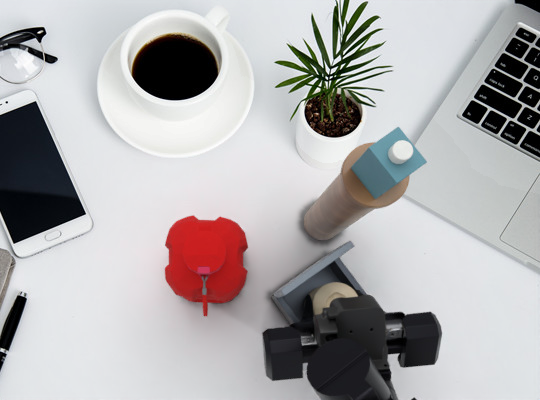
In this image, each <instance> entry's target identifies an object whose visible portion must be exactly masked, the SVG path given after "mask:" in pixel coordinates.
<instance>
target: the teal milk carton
mask: <svg viewBox="0 0 540 400" xmlns="http://www.w3.org/2000/svg"><path fill="white" fill-rule="evenodd" d="M427 163H428V161H427V160H426V159H425V157H424V156H423V155H422V154H421V152H420V151H419V150H418V149H417V147H416V146H415V145H414V143H413V142H412V141H411V140H410V139H409V137H408V136H407V135H406V134H405V132H404V131H403V130H402V128H401V127H400V126H397V127H396V128H394V129H393V130H390V132H388V133H387V134H385V135H384V136H383V137H381V138H380V139H378V140H377V141H376V143H374V144H373V145H371V146H370V147H369V148H368V149H367V150H366V151H365V152H364V153H363V154H362V156H361V157H360V158H359V159H358V160H357V161H356V162H355V163H354V164H353V166H352V167H351V169H352V170H353V172H354V173H355V174H356V176H357V177H358V178H359V179H360V181H361V182H362V183H363V185H364V186H365V187H366V188H367V190H368V191H369V192H370V194H371V195H372V196H373V197H374V199H377V198H378V197H379V196H381V195H382V194H384V193H385V192H387V191H388V190H389V189H391V188H392V187H394V186H395V185H396V184H398V183H399V182H401V181H402V180H403V179H405V178H406V177H407V176H409V177H410V175H412V174H413V173H415V172H416V171H418V170H419V169H420V168H421V167H422V166H424V165H426V164H427Z"/></svg>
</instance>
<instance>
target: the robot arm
mask: <svg viewBox="0 0 540 400" xmlns="http://www.w3.org/2000/svg"><path fill="white" fill-rule="evenodd" d="M355 292H356V294H357V295H358V296H357V297H347V298H343V297H340V298H335V299H334V300H332V301H331V303H330V306H329V307H326V308H322V313H321V314H316V315H314V313H313V303H312V299H311V296H310V295H307V296H306V301H305V306H304V312H303V316H302V318H301V321H300V322H295V323H291V324H290V323H289V325H288V326H281V327H280V326H279V327H271V328H266V329H265V330H263V332H262V333H261V335H262V349H263V350H262V351H263V365H264V371H265V376H266V377H267V378H268V379H269V380H271V381H272V382H278V381H288V380H297V379H304V371H306V377H307V382H308V383H309V384H310V386H311V388H312V389H313V391H314V392H315V393H316V395H317V397H319V399H320V400H399V396H398V394H397V392H396V389H395V387H394V384H393V381H392V370H391V368H390V367H391V365H390V363H389V355H397V357H396V358H397V363H398V365H399V367H400V368H402V369H403V368H405V369H406V368H413V367H414V368H415V367H425V366H426V367H427V366H435V365H436V363H437V361H438V360H439V355H440V349H441V344H442V343H441V342H442V338H443V331H442V325H441V323H440V320H438V318H437V315H436V314H435V313H433V311H423V312H415V313H413V312H412V313H404V312H403V311H392V312H387V311H385V310H384V309H383V307H382V306H381V305H380V304H379V302H378V301H377V299H376V298H375V297H374V296H373V295H371V294H367V295H364V294H363V293H362V292H361V291H360V290H355ZM410 400H418V399H417V398H416V397H412V398H411V399H410Z"/></svg>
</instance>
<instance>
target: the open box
mask: <svg viewBox="0 0 540 400" xmlns="http://www.w3.org/2000/svg"><path fill="white" fill-rule="evenodd" d="M333 282H339V283H343V284H346V285H348V286H349V287H351V288H352V289H353V290H354V291H355V290H360V291H361V292H362V293H363V294H364V295H368V293H366V291H365V290H364V288H363V287H362V286H361V284H360V283H359V282H358V280H357V279H356V278H355V276H354V275H353V274H352V272H351V271H350V269H348V267H347V265H345V264H344V262H343V260H342V259H341V257H339V258H338V259H336V260H335V261H333V262H332V263H331V264H329V265H328V266H326V267H325V268H324V269H322V270H321V271H319V272H318V273H317V274H315V275H314V276H312V277H311V278H310V279H308V280H307V281H305V282H304V283H303V284H301V285H300V286H298V287H297V288H296V289H294V290H293V291H291V292H290V293H289V294H287V295H286V296H283V297H279V298H276V297H275V295H274V294H272V295H271V297H270V298H271V300H272V301H273V302H274V304H275V306H277V308H278V309H279V311H280V312H281V314H282V315H283V316H284V317H285V319H286V321H287V322H288V323H289V325H290V324H291V323H295V322H300V321H301V318H302V316H303V312H304V303H305V299H306V296H307V295H308V294H309V293H310V292H311V291H312V290H313V289H315V288H317V287H319V286H322V285H325V284H328V283H333Z"/></svg>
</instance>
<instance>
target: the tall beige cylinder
mask: <svg viewBox="0 0 540 400" xmlns="http://www.w3.org/2000/svg"><path fill="white" fill-rule="evenodd" d="M376 142H377V141H376ZM376 142H375V141H374V142H367V143H363V144H360V145H358V146H357V147H355V148H354V149H352V150H351V151H350V152H349V153H348V155H347V156H346V157H345V159H344V160H343V162H342V164H341V168H340V172H339V174H338V175H337V176H336V177H335V178H334V180H332V182H331V183H329V185H328V186H327V188H326V189H325V190H324V191H323V192H322V194H321V195H320V196H319V197H318V198H317V199H316V200H315V201H314V203H313V204H312V205H311V207H310V208H308V210H307V211H306V213H305V215H304V217H303V227H304V229H305V231H306V233H307V234H308V236H310V237H312V238H313V239H315V240H317V241H328V240H331V239H332V238H334V237H335V236H337V235H339V234H340V233H341V232H343V231H344V230H346V229H348V228H349V227H350V226H352V225H354V224H355V223H356V222H358V221H359V220H360V219H362V218H364V217H365V216H366V215H368V214H370V213H371V212H373V211H374V210H376V209H384V208H387V207H389V206H391V205H393V204H394V203H396V202H398V201H399V200H400V199H401V198H402V197H403V196H404V194H405V193H406V192H407V189H408V188H409V187H408V186H409V183H410V175H409V176H407V177H406V178H405V179H403V180H402V181H401V182H399V183H398V184H396V185H395V186H394V187H392V188H391V189H389V190H388V191H387V192H385V193H384V194H382V195H381V196H379V197H378V198H377V199H374V197H373V196H372V195H371V194H370V192H369V191H368V190H367V188H366V187H365V186H364V185H363V183H362V182H361V181H360V179H359V178H358V177H357V176H356V174H355V173H354V172H353V170H352V169H351V167H352V166H353V164H354V163H355V162H356V161H357V160H358V159H359V158H360V157H361V156H362V154H363V153H364V152H365V151H366V150H367V149H368V148H369V147H370V146H371V145H373V144H374V143H376Z"/></svg>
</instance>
